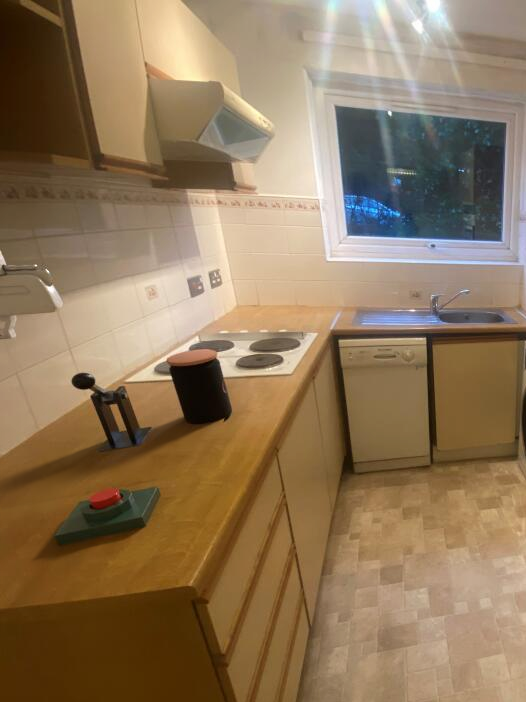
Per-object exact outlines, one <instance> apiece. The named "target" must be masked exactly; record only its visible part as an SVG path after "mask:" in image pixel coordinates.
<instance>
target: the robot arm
mask: <svg viewBox="0 0 526 702" xmlns="http://www.w3.org/2000/svg"><path fill="white" fill-rule="evenodd" d="M53 283H54V282H53V278H52V275H51V273H50V271H49V270H47V269H46V268H44V267H42V266H39V265H37V264H34V263H28V264H7V262H6V260H5V257H4V256H3V253H2V251H1V250H0V322H2V323H3V322H4V326H3V328H0V340H9V339H11V340H12V339H15V338H16V337H17V334H16V332H15V329H14V328H15V327H16V323H17V320H18V318H17V316H21V315H23V316H24V315H36V314H50V313H51V314H52V313H55V312H58V311H60V310H61V309H62V308H63V306H64V303H63V300H62V298H61V296H60V294H59V293H58V291H57V288H55V286H54V284H53Z"/></svg>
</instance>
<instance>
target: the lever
mask: <svg viewBox="0 0 526 702" xmlns="http://www.w3.org/2000/svg"><path fill="white" fill-rule="evenodd" d="M96 383H97V382H96V378H95V376H94V375H92V374H91V373H88V372H78V373H76V374H74V375H73V376H72V377H71V385H72V386H73V388H75V389H77V390H82V391H86V390H90V391H92V392H93V393H94V392H95V393H97V394H98V395H100V396H101V401H102V402H103V403H105V404H107V405H110V406H112V405H117V403H116V401H115V398H114V396H113V392H114V391H115V390H105V389H104V388H103V387H101V386H99V385H97V384H96ZM102 388H103V389H102Z"/></svg>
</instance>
